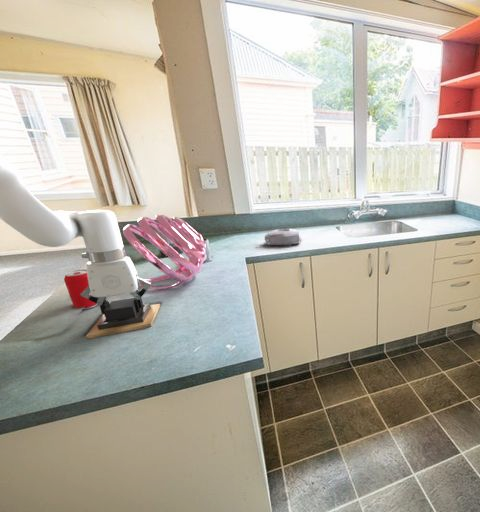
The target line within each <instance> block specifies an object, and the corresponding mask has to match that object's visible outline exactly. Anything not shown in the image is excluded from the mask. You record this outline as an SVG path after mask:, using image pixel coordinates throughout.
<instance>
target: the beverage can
mask: <svg viewBox="0 0 480 512" xmlns="http://www.w3.org/2000/svg"><path fill="white" fill-rule="evenodd" d="M63 281H64V283H65V287H66V289H67V292H68V294H69V298H70V300H71V303H72V306H73V308H78V309H79V308H80V309H81V308H82V309H81V310H82V311H84V310H89V309H93V308H95V307H97V306H98V305H97V303H95V302H92V301H90V300H89V299H87V298H85V297H83V296H81V295H80V294H81V293H82V292H83V291H84V290H85V289H86V288H87V287H88V286H89V283H88V277H87V269H76V270H72V271H68V272H66V273H64V279H63ZM90 293H91V291H90Z"/></svg>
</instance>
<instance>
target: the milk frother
mask: <svg viewBox="0 0 480 512" xmlns="http://www.w3.org/2000/svg"><path fill="white" fill-rule="evenodd" d="M174 229H175V228H174ZM153 230H154V231H155V232H156V233H157V234H158V235H159V236H160V237H161V238H162V239H163V240H164V241H165V242H166V243H167V244H168V245H170V246H171V247H172V248H173V249H174V250H175V251H176V252H178V253H179V254H180V255H181V254H182V253H183V252H182V251H181V250H180V249H179V248H178V247H177V246H176V245H175V244H174V243H173V242H172V241H170V240H169V239H168V238H167V237H166V236H164V235H163V234H162V233H160V232H159V231H158V230H156V229H155V228H154V227H153ZM175 230H176V229H175ZM176 231H177V230H176ZM177 232H178V231H177ZM182 237H183V238H184V239H185V240H187V239H186V238H185V237H184V236H183V235H182ZM187 241H188V240H187ZM188 242H189V241H188ZM189 243H190V242H189ZM159 253H160V257H163V256H164V257H165V258H167V256H166V255H165V254H164V253H163V252H162V251H161V250H159ZM164 257H163V258H164Z"/></svg>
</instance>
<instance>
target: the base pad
mask: <svg viewBox="0 0 480 512" xmlns="http://www.w3.org/2000/svg"><path fill="white" fill-rule="evenodd" d="M160 308H161V303H155V304H150V303H143V308H142V309H141V310H140V312H138V314H137V315H136V317H132V318H126V319H120V320H114V321H109V322H107V320H106V318H105V315H104V314H102V315H101V317H99V319H98V321H96V323H95V324H94V325H93V327H92V328H91V329H90V331H89V332H88V333H87V334H86V338H87V339H88V340H89V339H95V338H100V337H104V336H110V335H114V334H120V333H126V332H130V331H131V332H132V331H134V330H142V329H145V328H152V326H153V324H154V322H155V319H156V317H157V316H158V313H159V311H160Z"/></svg>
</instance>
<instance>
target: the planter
mask: <svg viewBox="0 0 480 512" xmlns="http://www.w3.org/2000/svg"><path fill="white" fill-rule="evenodd" d="M203 240H204V241H205V243H206V247H205V252H206V254H207V257H206V260H205V261H204V262H203V263H208V262H207V261H209V262H212V260H213V259H212V253H211V248H210V242H209V239H208V238H203ZM198 244H199V243H198ZM199 245H200V244H199Z"/></svg>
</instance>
